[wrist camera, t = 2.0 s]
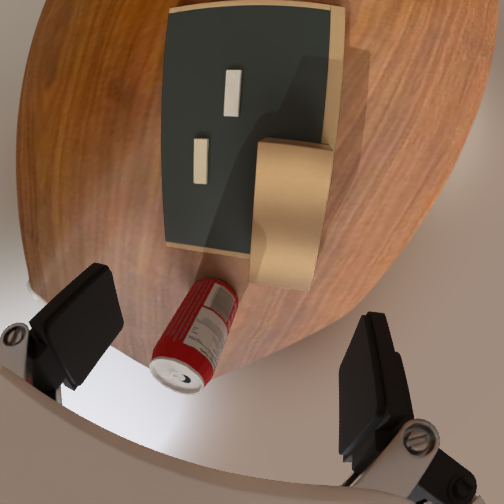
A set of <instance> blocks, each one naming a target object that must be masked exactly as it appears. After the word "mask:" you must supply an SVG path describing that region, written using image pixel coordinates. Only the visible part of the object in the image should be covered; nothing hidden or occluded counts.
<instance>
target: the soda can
mask: <svg viewBox="0 0 504 504" xmlns="http://www.w3.org/2000/svg"><path fill="white" fill-rule="evenodd" d="M237 308H238V298H237V296H236V294H235V292H234V291H233V290H232V289H231V288H230V287H229V286H228V285H227V284H226V283H224V282H222V281H220V280H218V279H208V278H205V279H201V280H198V281H197V282H195V283H194V285H193V286H192V287H191V289H190V291H189V292H188V294H187V295H186V297H185V299H184V300H183V302H182V303H181V305H180V307H179V308H178V310H177V311H176V313H175V315H174V316H173V318H172V320H171V321H170V323H169V325H168V326H167V328H166V329H165V331H164V333H163V334H162V336H161V338H160V339H159V341H158V343H157V344H156V346H155V348H154V350H153V354H152V360H151V363H150V366H149V368H150V372H151V373H152V375H153V377H154V378H155V379H157V381H159V382H160V383H161V384H162V385H163V386H165V387H167V388H169V389H171V390H173V391H175V392H178V393H181V394H186V395H195V394H199V393H200V392H202V390H203V388H204V387H205V386H206V384H207V383H208V382H209V381H210V380H211V378H212V376H213V373H214V371H215V368H216V365H217V363H218V360H219V357H220V354H221V352H222V349H223V346H224V344H225V341H226V338H227V335H228V333H229V330H230V327H231V325H232V322H233V319H234V316H235V314H236V311H237Z"/></svg>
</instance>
